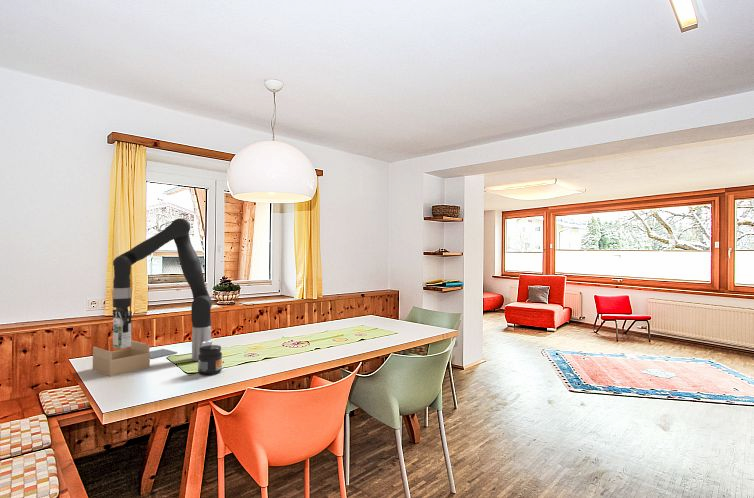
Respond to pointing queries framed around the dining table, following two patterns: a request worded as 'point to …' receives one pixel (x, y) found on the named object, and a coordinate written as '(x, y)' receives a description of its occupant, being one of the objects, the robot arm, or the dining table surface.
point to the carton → (121, 359)
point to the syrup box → (121, 334)
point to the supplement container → (209, 360)
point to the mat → (160, 353)
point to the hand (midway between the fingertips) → (122, 331)
